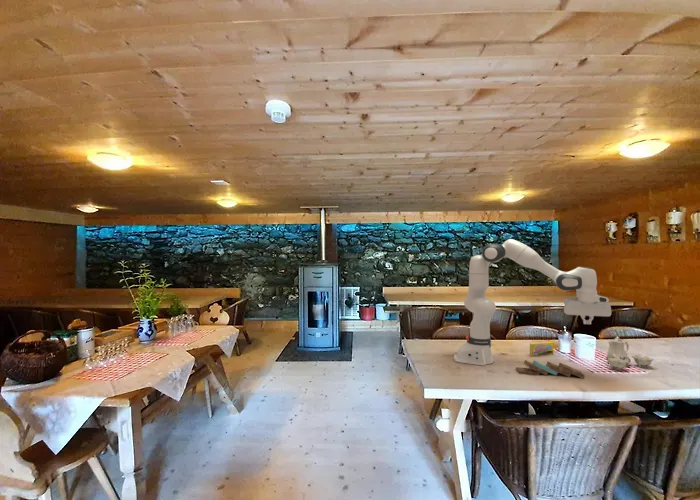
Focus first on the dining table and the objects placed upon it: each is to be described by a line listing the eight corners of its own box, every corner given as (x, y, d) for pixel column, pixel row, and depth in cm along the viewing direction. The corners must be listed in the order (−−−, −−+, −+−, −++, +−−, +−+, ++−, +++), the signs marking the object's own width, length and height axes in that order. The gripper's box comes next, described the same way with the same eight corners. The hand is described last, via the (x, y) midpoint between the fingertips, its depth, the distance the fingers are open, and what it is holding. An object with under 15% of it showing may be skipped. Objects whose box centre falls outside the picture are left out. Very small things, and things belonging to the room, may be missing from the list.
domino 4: (583, 378, 163) (561, 369, 166) (578, 374, 169) (558, 365, 172) (584, 375, 163) (563, 366, 166) (580, 371, 169) (559, 362, 172)
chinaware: (621, 377, 169) (623, 346, 168) (589, 363, 185) (591, 336, 183) (657, 371, 177) (660, 341, 176) (624, 358, 193) (626, 332, 191)
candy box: (531, 357, 199) (531, 343, 199) (529, 356, 201) (529, 342, 201) (554, 355, 202) (553, 342, 202) (551, 354, 204) (550, 341, 204)
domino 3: (569, 377, 166) (548, 368, 169) (566, 373, 171) (546, 364, 174) (571, 373, 165) (550, 364, 168) (567, 369, 171) (547, 361, 174)
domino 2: (546, 375, 168) (528, 367, 169) (541, 371, 174) (523, 363, 175) (548, 372, 168) (529, 363, 169) (542, 367, 174) (525, 359, 175)
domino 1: (539, 375, 169) (519, 374, 171) (535, 371, 175) (515, 370, 177) (539, 372, 169) (519, 371, 171) (535, 368, 175) (515, 367, 177)
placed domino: (556, 375, 168) (537, 367, 169) (550, 371, 174) (532, 363, 175) (557, 372, 168) (539, 363, 169) (552, 368, 174) (534, 359, 175)
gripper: (565, 297, 167) (566, 324, 167) (612, 299, 161) (613, 326, 161) (561, 296, 173) (562, 321, 173) (606, 297, 167) (607, 323, 167)
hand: (587, 324), depth 167 cm, fingers closed
